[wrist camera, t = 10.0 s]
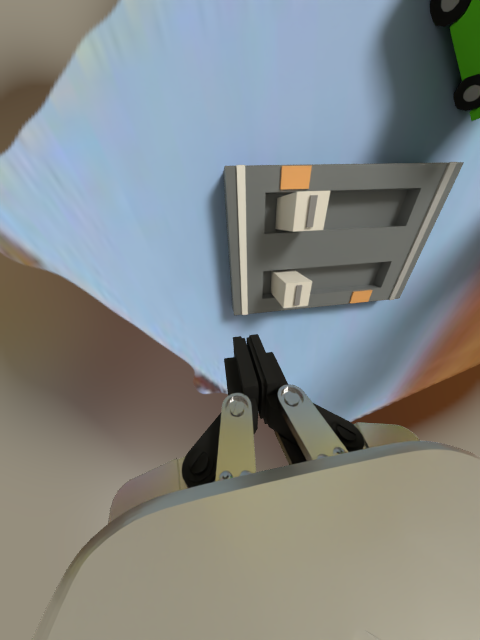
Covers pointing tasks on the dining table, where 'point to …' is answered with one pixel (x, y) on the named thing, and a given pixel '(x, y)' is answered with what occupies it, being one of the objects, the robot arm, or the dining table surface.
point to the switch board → (332, 229)
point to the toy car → (463, 47)
